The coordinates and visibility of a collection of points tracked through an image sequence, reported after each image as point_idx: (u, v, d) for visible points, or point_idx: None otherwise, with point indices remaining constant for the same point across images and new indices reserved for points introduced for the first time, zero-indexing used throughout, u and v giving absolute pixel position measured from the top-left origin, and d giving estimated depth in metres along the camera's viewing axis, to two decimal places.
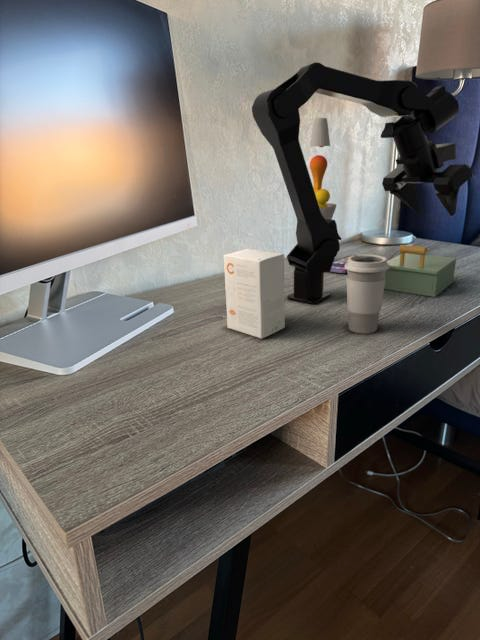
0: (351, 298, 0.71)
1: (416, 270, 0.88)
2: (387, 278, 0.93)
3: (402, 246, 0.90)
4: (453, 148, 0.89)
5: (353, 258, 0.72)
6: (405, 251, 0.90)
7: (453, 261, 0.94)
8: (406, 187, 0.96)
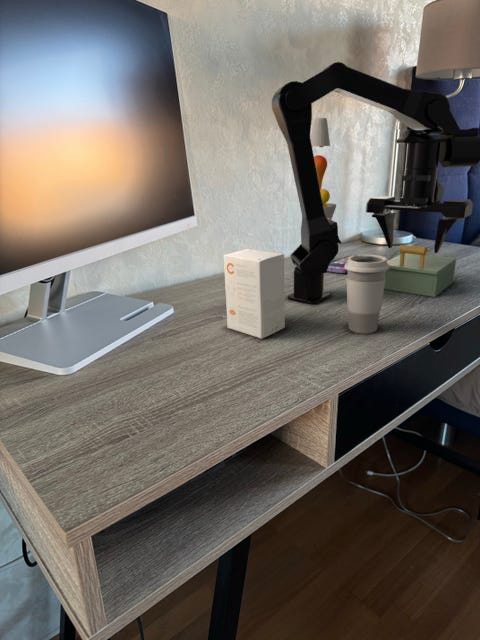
0: (351, 298, 0.71)
1: (416, 270, 0.88)
2: (387, 278, 0.93)
3: (402, 246, 0.90)
4: (442, 192, 0.89)
5: (353, 258, 0.72)
6: (405, 251, 0.90)
7: (453, 261, 0.94)
8: (389, 215, 0.90)
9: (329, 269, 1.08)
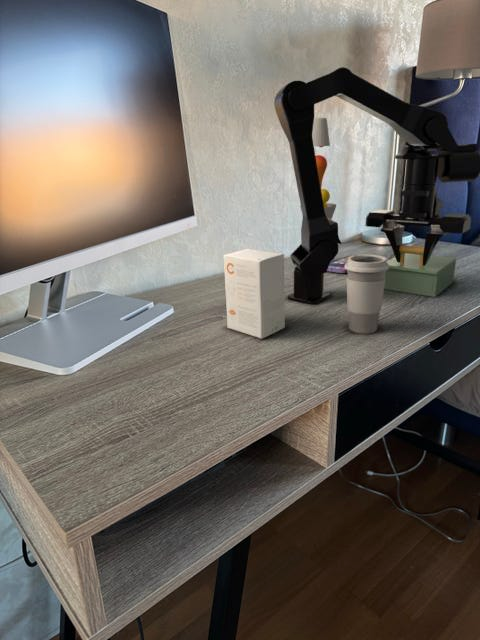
0: (351, 298, 0.71)
1: (416, 270, 0.88)
2: (387, 278, 0.93)
3: (402, 246, 0.90)
4: (441, 206, 0.90)
5: (353, 258, 0.72)
6: (405, 251, 0.90)
7: (453, 261, 0.94)
8: (398, 230, 0.90)
9: (329, 269, 1.08)
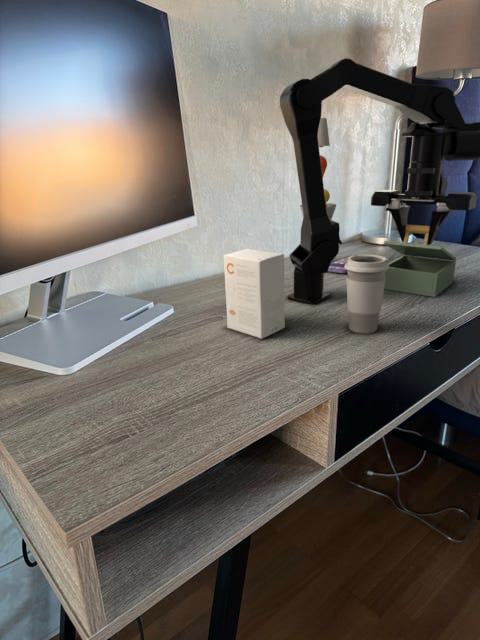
0: (351, 298, 0.71)
1: (420, 245, 0.87)
2: (387, 278, 0.93)
3: (408, 225, 0.90)
4: (446, 186, 0.90)
5: (353, 258, 0.72)
6: (411, 229, 0.90)
7: (454, 257, 0.94)
8: (403, 209, 0.90)
9: (329, 269, 1.08)
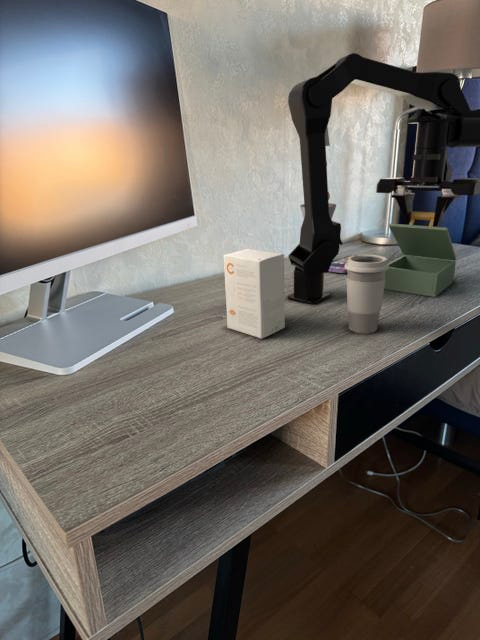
0: (351, 298, 0.71)
1: (425, 227, 0.87)
2: (387, 278, 0.93)
3: None
4: (451, 173, 0.91)
5: (353, 258, 0.72)
6: (416, 215, 0.91)
7: (454, 255, 0.94)
8: (409, 196, 0.91)
9: (329, 269, 1.08)
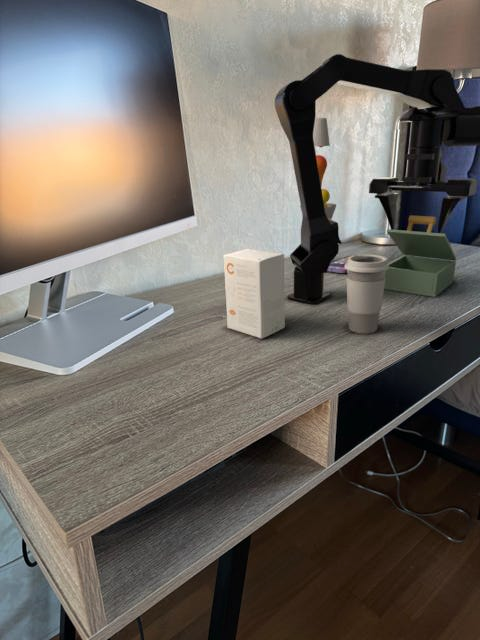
0: (351, 298, 0.71)
1: (423, 233, 0.87)
2: (387, 278, 0.93)
3: None
4: (445, 172, 0.89)
5: (353, 258, 0.72)
6: (414, 219, 0.90)
7: (454, 256, 0.94)
8: (392, 196, 0.89)
9: (329, 269, 1.08)
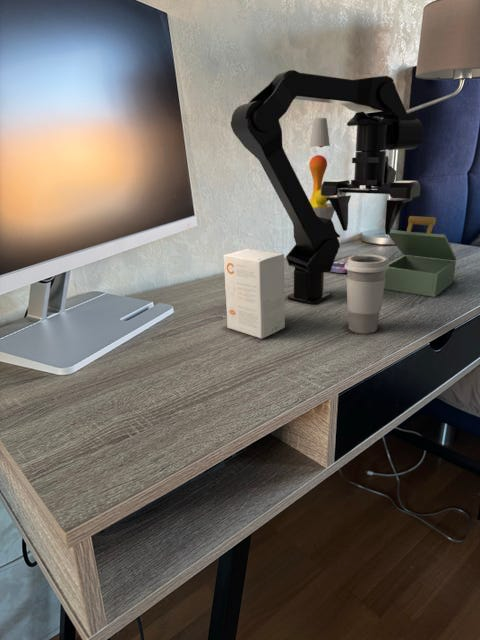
0: (351, 298, 0.71)
1: (423, 234, 0.87)
2: (387, 278, 0.93)
3: (412, 216, 0.91)
4: (394, 175, 0.91)
5: (353, 258, 0.72)
6: (414, 220, 0.90)
7: (454, 256, 0.94)
8: (343, 198, 0.92)
9: None
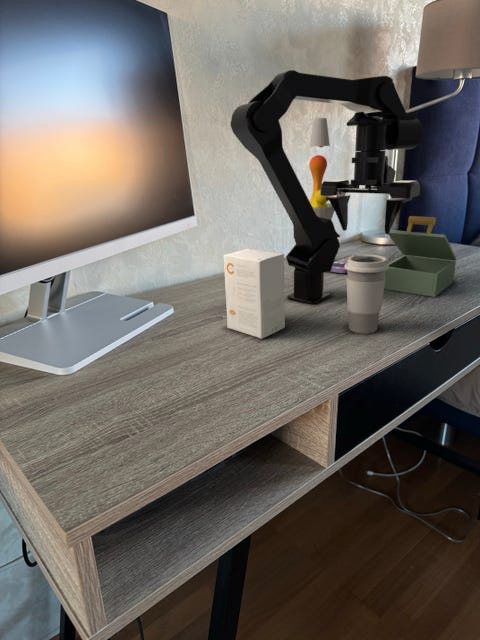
0: (351, 298, 0.71)
1: (423, 234, 0.87)
2: (387, 278, 0.93)
3: (412, 216, 0.91)
4: (394, 175, 0.91)
5: (353, 258, 0.72)
6: (414, 220, 0.90)
7: (454, 256, 0.94)
8: (343, 198, 0.92)
9: None
